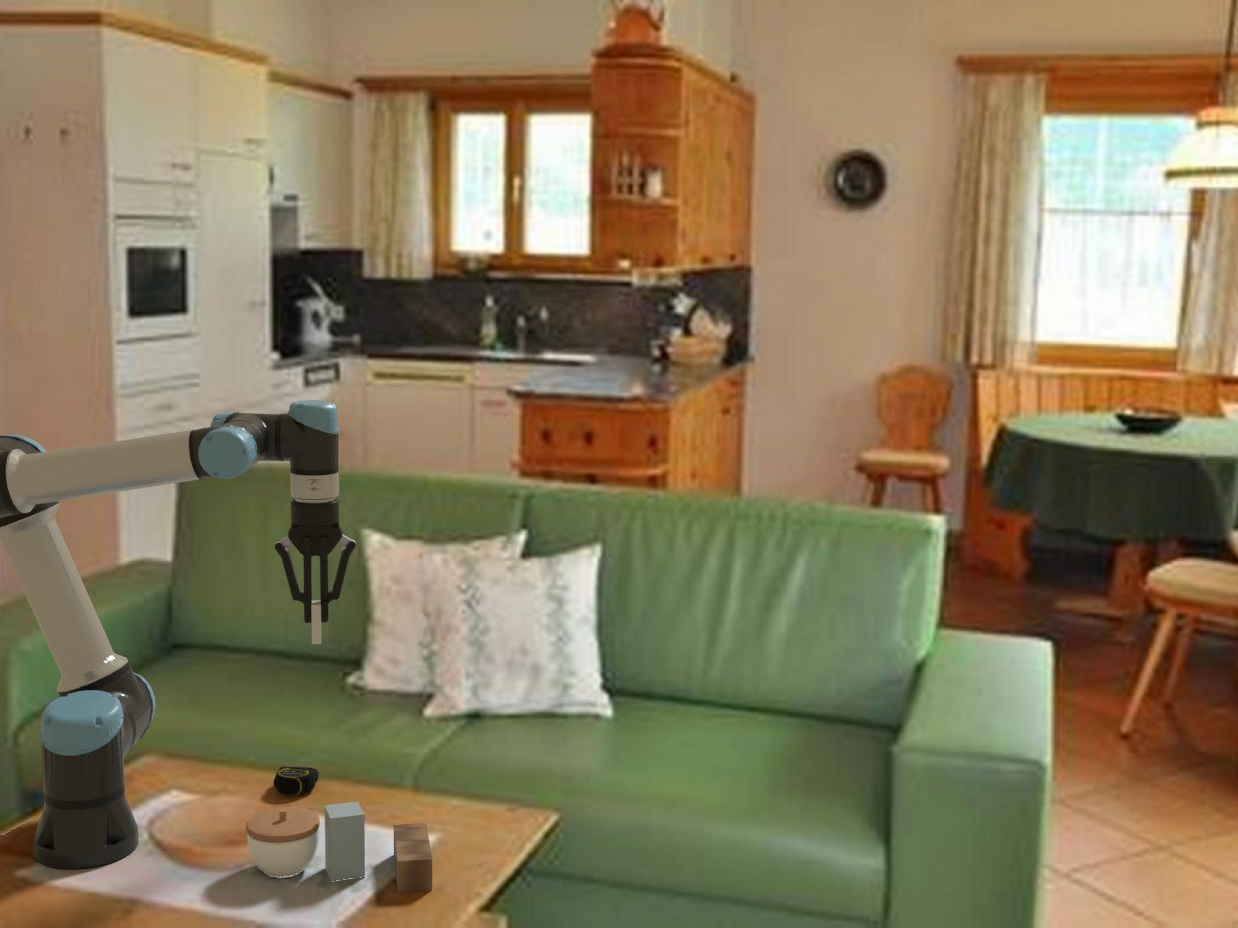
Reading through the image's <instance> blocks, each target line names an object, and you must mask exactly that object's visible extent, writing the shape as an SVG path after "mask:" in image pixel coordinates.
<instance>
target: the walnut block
mask: <svg viewBox="0 0 1238 928" xmlns="http://www.w3.org/2000/svg"><path fill="white" fill-rule="evenodd" d="M430 843H431V841H430V837H429V832H428V826H427V823H426V822H423V823H422V822H420V823H404V824H402V823H401V824H393V860H394V869H395V870H396V871H395V877H396V879H395V881H396V888H397V893H398V894H401V893H415V892H429V891H433V856H432V850H431V849H432V848H431V844H430Z"/></svg>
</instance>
